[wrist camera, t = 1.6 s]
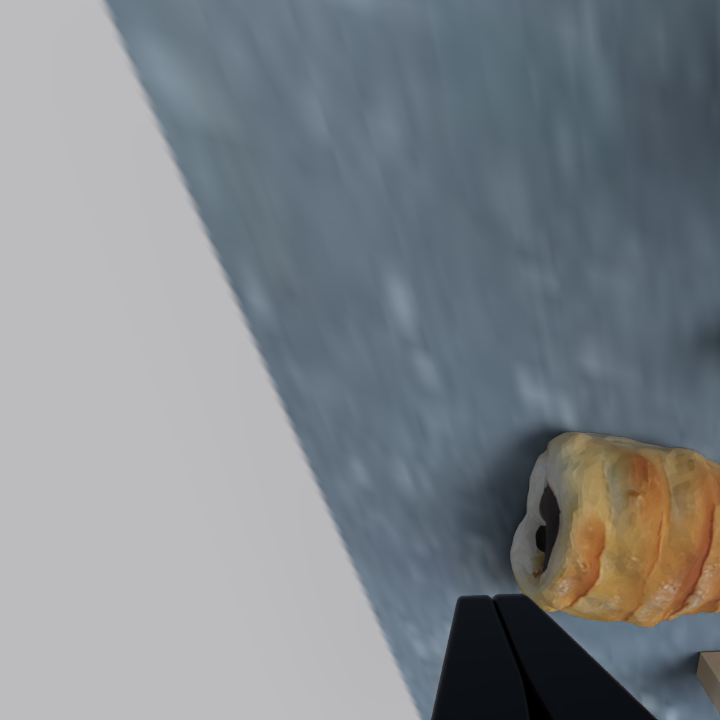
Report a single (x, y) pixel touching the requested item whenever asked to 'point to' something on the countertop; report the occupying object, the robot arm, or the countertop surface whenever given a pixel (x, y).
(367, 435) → the countertop surface
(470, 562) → the countertop surface
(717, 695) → the beige piece
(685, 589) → the pastry
